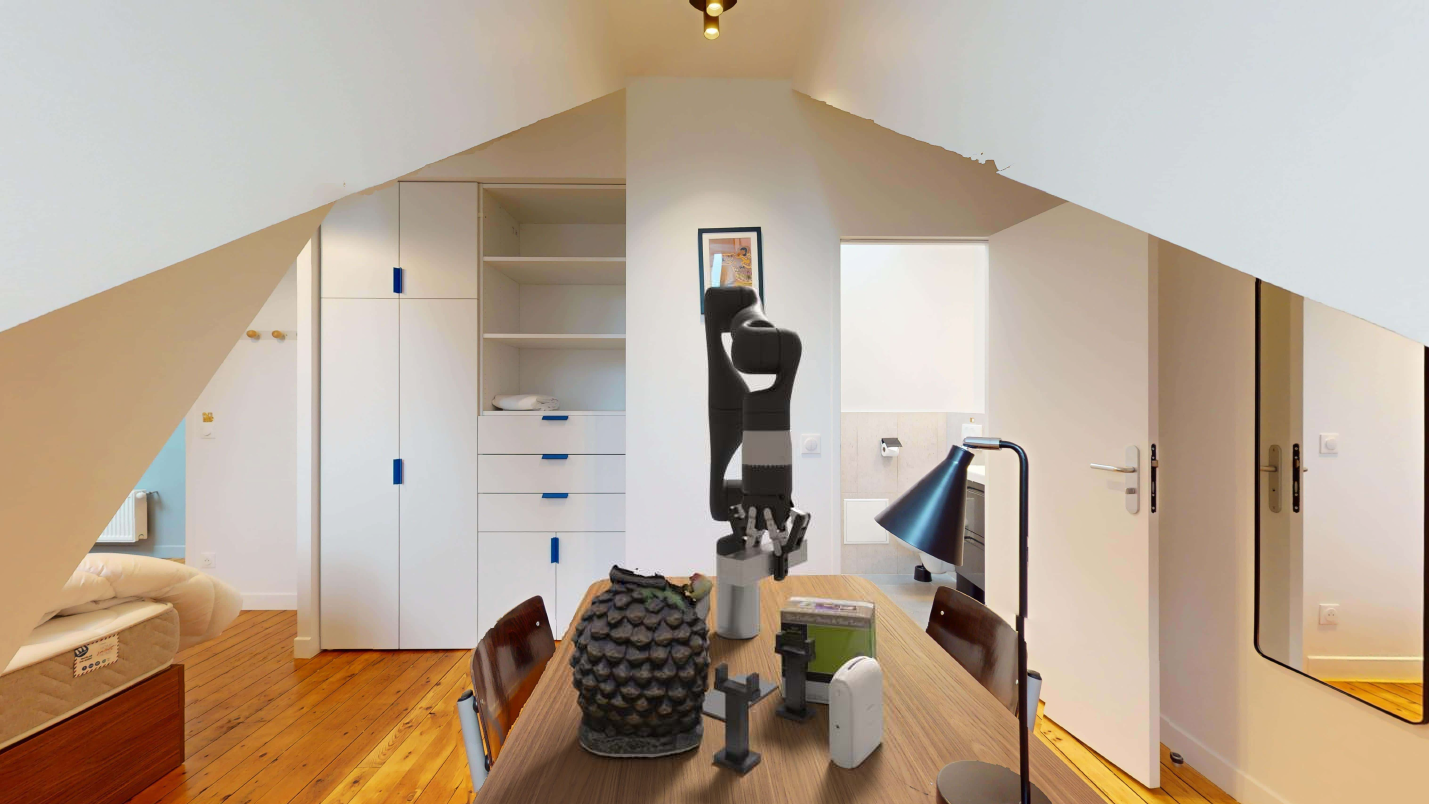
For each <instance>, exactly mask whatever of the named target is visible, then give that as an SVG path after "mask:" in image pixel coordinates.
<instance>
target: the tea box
mask: <svg viewBox="0 0 1429 804" xmlns="http://www.w3.org/2000/svg"><path fill="white" fill-rule="evenodd" d="M875 605H876V603H875V601H869V600H855V599H844V598H843V599H841V598H831V597H829V598H828V597H815V596H802V595H791V597H789V599H788V600H787V602H786V603H785V604H784V606H783V607H782V608H781V609H780V611H779V612H780V631H786V644H787V645H791V646H795V647H799V648H803V649H804V641H806V640H808V639H809V638H814V639H815V652H816V659H815V660H814V661H812V662H811V663H809V662H806V661H805V670H806V702H811V703H819V704H827V705H829V686H830V683H831V680H832V679H833V677H834V675H835V674H836V673H837V671H838V670H839V669H840V668H841V667H842V666H843V665H844V664H846V663H847V662H848V661H850V660H852V659H854V658H856V657H860V656H866V657H869V658H873V659H875V660H876V661H877V660H878V657H877V627H876V623H877V622H876V606H875ZM780 659H781V660H780V662H781V665H780V666H781V667H780V669H781V671H780V672H781V673H780V674H781V693H782V698H784V699H785V656H784V655H780ZM877 662H878V661H877Z"/></svg>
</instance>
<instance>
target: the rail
mask: <svg viewBox="0 0 1429 804" xmlns="http://www.w3.org/2000/svg"><path fill="white" fill-rule="evenodd" d="M788 537H789V535H788ZM774 555H776V554H775V553H774V548H773V543H772V540H771V541H769V542H766V543H761V545H759V546H755V547H752V548H749V549H746V550H743V551H740V552H736V553H733V554H730V555H727V556H724V557H722V583H726V584H730V585H735V586H740V587H744V586H747V585H749V584H752V583H754V582H757V581H758V582H760V581H761V580H764V579H767V578H769V577H772V576H774ZM806 562H808V539H807V538H805V537H804V539H803V542H802V544H801V547H800V549H799V550H796V551H794V552H791V553H789V555H788V570H789V569H792V568H794V567H795V566H796V567H797V566H799V565H801V564H804V563H806Z"/></svg>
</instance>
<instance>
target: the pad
mask: <svg viewBox="0 0 1429 804" xmlns="http://www.w3.org/2000/svg"><path fill="white" fill-rule="evenodd" d="M749 675H750V674H747V673H742V672H740V673H738V674H736V675H735V676H733V677H732V678H730V680H733V681H736V682H739V683H743V684H746V677H748V676H749ZM777 687H778V688H779V687H780V685H779V684H778V683H775V682H772V681H769V680H765V679H763V678H759V689H761V697H760V698H758V699H757V700H756V701H754V702H753V703H752V702H749V708H750V707H752V706H753V705H755V704H757V703H758V702H759V701H761V700H762V699H764V698H765V697H766V696H768V695H770V694H771V693H773V692H774V691H776V690H777V689H778V688H777ZM776 688H777V689H776ZM701 714H705V715H708V716H710V717H714V718H716V719H718V720H720V721H724V722H725V693H723V692H720V691H717V690H714V688H713V689H711V690H709V691H707V692H705V701H704V702H703V711H702V712H701Z"/></svg>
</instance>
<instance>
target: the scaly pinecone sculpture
mask: <svg viewBox="0 0 1429 804" xmlns="http://www.w3.org/2000/svg"><path fill="white" fill-rule="evenodd" d="M634 570H636V571H638V570H639V568H638V567H636V568H635V569H634ZM608 577H609V581H610V583H611V586H610V587H609V588H608V589H605V590H604V591H602V592H601V593H600V594H597V595H595V596H593V598H592V599H591V604H590V606H589V607H587V608H586V609H584V611H583V613H582V614H581V617H580V622H578V623H577V624H576V625H575V627H574V628H575V632H574V633H573V635H572V637H571V639H570V640H571V641H572V642H573V644H574V645H573V646H574V648H575V649H574V651H573V653H572V654H571V656H570V658H569V659H568V662H569V663H568V664H569V666H570V667H571V668H572V669H573V671H572V674H571V675H572V678H573V679H572V682H571V684H572V686H573V688H574V689H575V690H576V691H577V692H578V696H577V699H576V703H577V706H579V708H580V710H581V712H582V716H581V719H580V722H579V724H578V727H577V733H578V737H579V742H580V744H581V746H582V747H584V748H585V749H586V750H587V751H589V752H591V753H595V754H596V755H599V756H606V757H608V756H609V757H613V758H614V757H616V758H617V757H618V758H619V757H623V758H627V757H629V758H630V757H632V758H634V757H639V758H642V757H647V758H655V757H656V758H657V757H662V756H667V755H668V756H669V755H670V754H673V755H674V754H675V753H676V754H679V753H683V752H685V751H688V750H691V749H692V748H695V747H697V746H699V745H700V743H701V742H702V738H703V736H704V731H705V727H704V717H703V714H702V711H703V702H704V701H705V694H706V693H708V692H709V688H710V682H709V668H710V664H711V662H712V660H711V658H710V653H709V650H710V645H711V644H710V643H711V642H710V640H709V639H708V637H707V636H708V634H709V632H710V627H709V626H708V625H707V623H706V622H707V618H708V616H709V615H710V612H711V592H712V589H713V587H714V582H713V581H712V580H711V579H710V578H709V577H708V576H707V575H706V574H704V573H699V572H694V574H693V575H692V576H689V578H688V579H689V582H690V583H689V584H688V583H683V584H682V585H679V584H678V585H677V584H675V583H671V582H670V581H669V580H668V579H666V577H665V576H664V575H662V574H661V573H660V572H659V571H657V572H654V575H643V574H640V573H639V574H637V573H635V572H634V571H633V570H630V569H627V568H622V567H619V566H618V564H613V566H612V567H611V569H610V571H609V573H608ZM687 593H688V594H689V595H688V594H687Z"/></svg>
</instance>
